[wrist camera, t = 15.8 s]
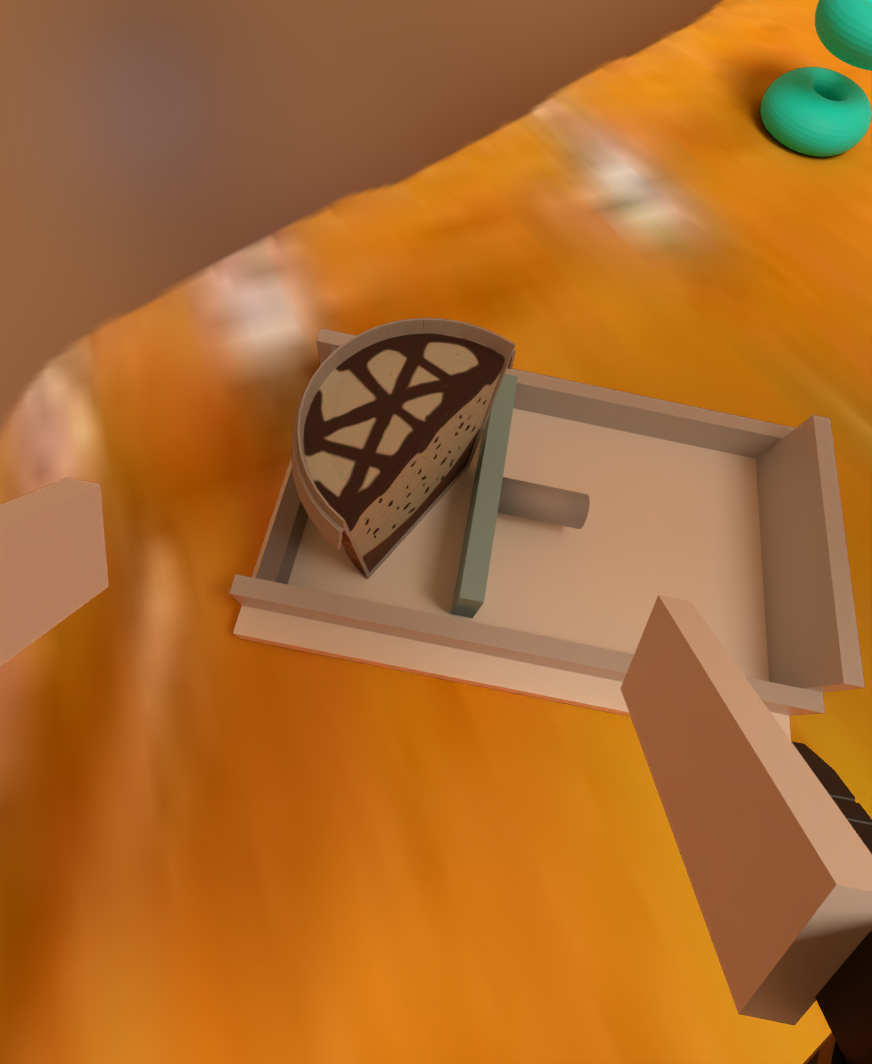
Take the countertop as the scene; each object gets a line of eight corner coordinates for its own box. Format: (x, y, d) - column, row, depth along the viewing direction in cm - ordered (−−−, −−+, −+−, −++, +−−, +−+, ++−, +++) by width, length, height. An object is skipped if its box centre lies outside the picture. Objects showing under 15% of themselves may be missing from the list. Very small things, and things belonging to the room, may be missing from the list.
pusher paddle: (581, 427, 34) (602, 394, 30) (563, 636, 28) (585, 623, 25) (486, 408, 34) (497, 372, 30) (451, 613, 28) (459, 597, 25)
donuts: (826, 3, 41) (841, -51, 44) (744, 139, 50) (763, 85, 54) (953, 46, 40) (958, -12, 44) (846, 177, 49) (857, 119, 53)
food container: (407, 395, 34) (416, 265, 25) (483, 451, 33) (522, 337, 24) (267, 531, 30) (214, 435, 20) (349, 599, 29) (333, 531, 19)
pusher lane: (753, 441, 37) (825, 383, 31) (771, 744, 29) (872, 745, 23) (332, 353, 36) (322, 276, 30) (239, 638, 29) (201, 611, 23)
